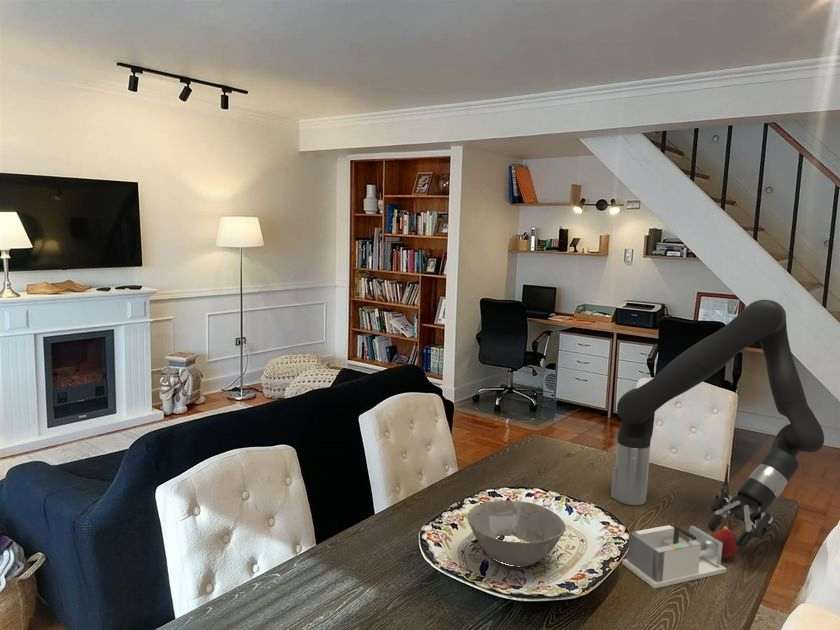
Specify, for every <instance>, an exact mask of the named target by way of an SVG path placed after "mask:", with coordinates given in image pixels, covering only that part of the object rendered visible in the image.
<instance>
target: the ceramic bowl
mask: <svg viewBox="0 0 840 630" xmlns="http://www.w3.org/2000/svg"><path fill="white" fill-rule="evenodd" d="M467 521H468V522H467V523H468V525H469V527H470V529H471V531H472V533H473V535H474V536H475V539H476V540H477V542H478V543H479V545H480V546H481V549H482V550H483V551H484V552H485V553H486V554H487V556H488V555H489V556H490V557H489V556H488V557H489V558H491V559H492V558H493V559H495V560H497V561H499V562H503V563H506V564H509V565H514V566H526V567H528V566H531V565H532V566H533V564H535V563H538V562H540V560H542V559H545V557H547V556H548V555H549V554H550V553H551V552H553V550H554V548H555V547H556V545H557V544H558V542H559V541H560V539H561V537H562V536H563V535H564V533H565V531H566V529H567V528H566V527H567V526H566V524H565V522H564V520H563V519H562V518H561V517H560V516H559V515H558V514H557V513H555V512H553V511H552V510H550V509H549V508H547V507H544V506H543V505H539V504H537V503H532V502H528V501H520V500H519V501H518V500H510V499H509V500H494V501H493V500H492V501H484V502H482V503H480V504H477V505H476V506H475V507H473V508H471V509H470V510H469V511H468V513H467ZM502 535H503V536H511V535H514V536H515V537H517V538H518V539H522V540H525V541H526V542H529V543H521V542H507V541H503V540H499V539H496V538H497V537H498V536H502ZM493 559H492V560H493ZM495 560H494V561H495ZM497 561H496V562H497Z"/></svg>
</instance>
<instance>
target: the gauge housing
mask: <svg viewBox="0 0 840 630" xmlns="http://www.w3.org/2000/svg"><path fill="white" fill-rule="evenodd" d="M671 538H674V527H673V526H671V525H669V524H667V525H662V526H658V527H657V526H656V527H651V528H646V529H641V530H636V531H635V530H634V531H630V532H628V543H627V544H628V545H630V546H629V549H628V548H627V557H626V558H624V559H622V562H621V564H622V565H623V566H625V567H626V568H628V570H630V571H631V572H632V573H634V574H635V575H636V576H637V577H639V578H640V579H641V580H643V581H644V582H646V583H647V584H648V585H650V586H651V588H653V589H655V590H656V589H658V588H663V587H667V586H672V585H677V584H680V583H686V582H689V581H694V580H698V579H703V578H709V577H712V576H716V575H721V574H725V573H727V568H726V567H725V566H723V565H722V564H721V565H720V566H716V565H714V564H713V563H711V562H709V561H708V560H706V559H705V558H703V557H702V556H700V550H701V544H700V543H699V542H697V541H690V542H688V541H687V542H685V543H680V544H679V543H677V544H672V545H670V546H665V547H662V542H663V540H665V539H671ZM628 545H627V546H628Z"/></svg>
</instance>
